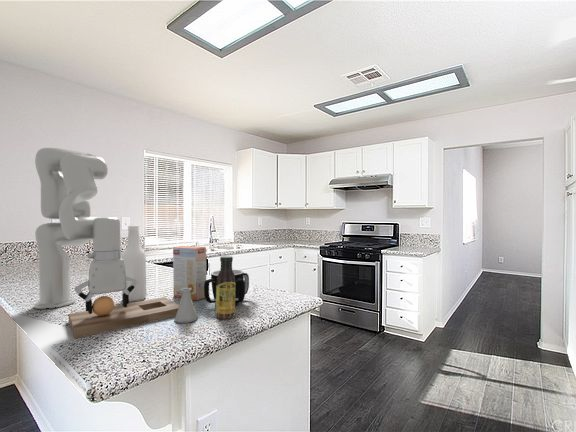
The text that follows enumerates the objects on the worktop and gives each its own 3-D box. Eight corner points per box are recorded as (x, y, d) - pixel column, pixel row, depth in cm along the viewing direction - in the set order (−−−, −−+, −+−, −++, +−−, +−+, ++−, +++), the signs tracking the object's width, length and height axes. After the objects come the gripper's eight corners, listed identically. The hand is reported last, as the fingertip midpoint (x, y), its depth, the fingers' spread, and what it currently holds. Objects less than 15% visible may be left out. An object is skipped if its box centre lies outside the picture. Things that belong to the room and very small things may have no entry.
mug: (214, 297, 125) (214, 268, 125) (253, 298, 123) (252, 268, 123) (199, 309, 108) (198, 276, 108) (243, 310, 107) (242, 276, 107)
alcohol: (130, 303, 118) (129, 226, 118) (117, 300, 123) (116, 225, 123) (150, 297, 125) (149, 225, 125) (138, 295, 130) (137, 225, 130)
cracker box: (207, 297, 125) (206, 246, 124) (195, 301, 119) (195, 248, 119) (184, 293, 132) (184, 245, 132) (173, 296, 127) (172, 246, 127)
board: (68, 321, 98) (68, 314, 98) (164, 303, 117) (164, 296, 117) (75, 338, 84) (74, 329, 84) (182, 314, 103) (182, 307, 103)
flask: (190, 324, 94) (190, 292, 94) (169, 323, 95) (169, 291, 95) (202, 316, 101) (201, 286, 101) (182, 315, 102) (181, 286, 102)
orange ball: (87, 310, 96) (96, 291, 97) (107, 314, 99) (115, 296, 101) (89, 316, 91) (99, 296, 93) (110, 319, 95) (119, 301, 96)
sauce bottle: (218, 321, 96) (217, 258, 96) (213, 315, 102) (212, 256, 102) (238, 317, 99) (237, 257, 99) (232, 312, 105) (231, 254, 105)
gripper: (75, 260, 89) (76, 318, 89) (139, 254, 100) (140, 306, 100) (72, 257, 94) (73, 312, 94) (133, 252, 105) (134, 302, 105)
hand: (107, 309), depth 97 cm, fingers open, 9 cm apart
